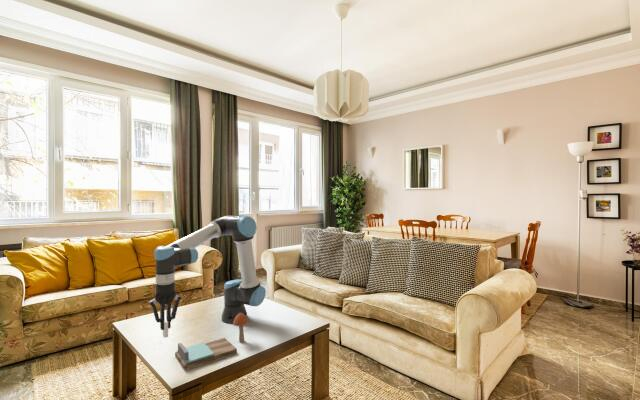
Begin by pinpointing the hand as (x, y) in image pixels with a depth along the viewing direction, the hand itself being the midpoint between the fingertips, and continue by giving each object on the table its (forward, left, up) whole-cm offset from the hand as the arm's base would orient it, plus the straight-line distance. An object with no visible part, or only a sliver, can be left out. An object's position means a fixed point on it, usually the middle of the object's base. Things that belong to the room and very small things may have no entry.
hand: (165, 336), depth 143 cm
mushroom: (-3, +37, -14) cm, 40 cm away
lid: (0, +13, -12) cm, 17 cm away
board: (0, +19, -14) cm, 23 cm away
